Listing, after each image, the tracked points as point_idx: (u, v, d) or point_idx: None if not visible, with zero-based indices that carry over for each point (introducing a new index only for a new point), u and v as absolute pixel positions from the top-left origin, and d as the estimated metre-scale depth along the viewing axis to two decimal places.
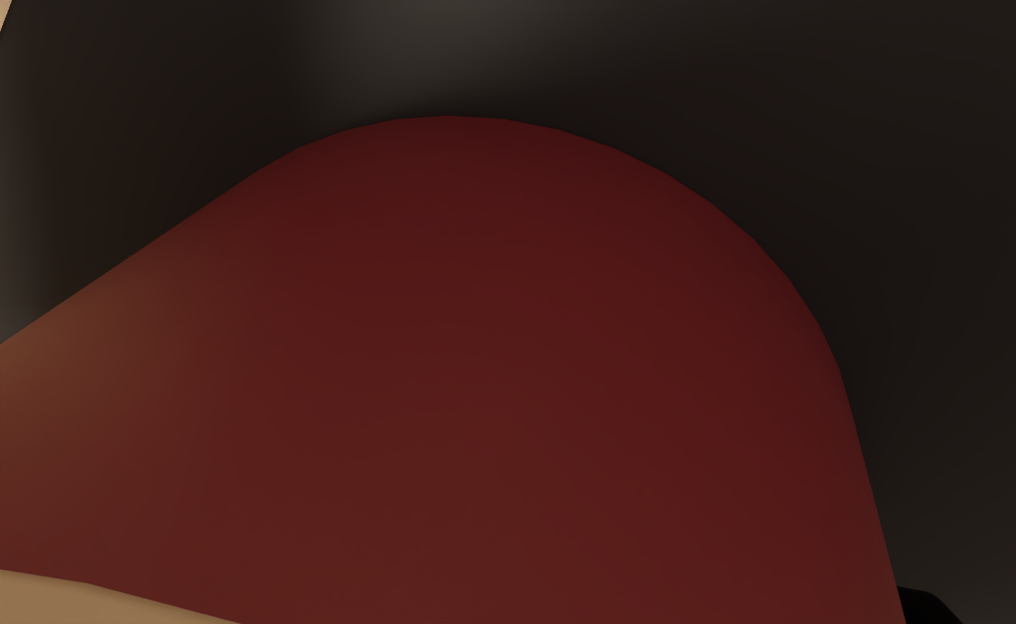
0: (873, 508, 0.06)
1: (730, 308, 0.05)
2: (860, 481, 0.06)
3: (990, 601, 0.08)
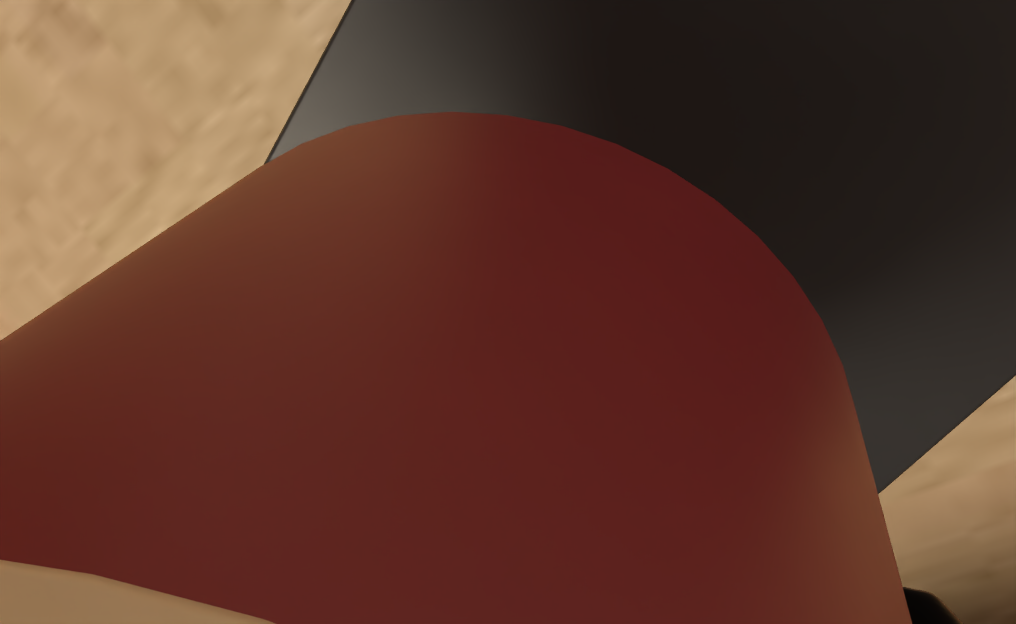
0: (878, 504, 0.06)
1: (736, 305, 0.05)
2: (865, 477, 0.05)
3: None
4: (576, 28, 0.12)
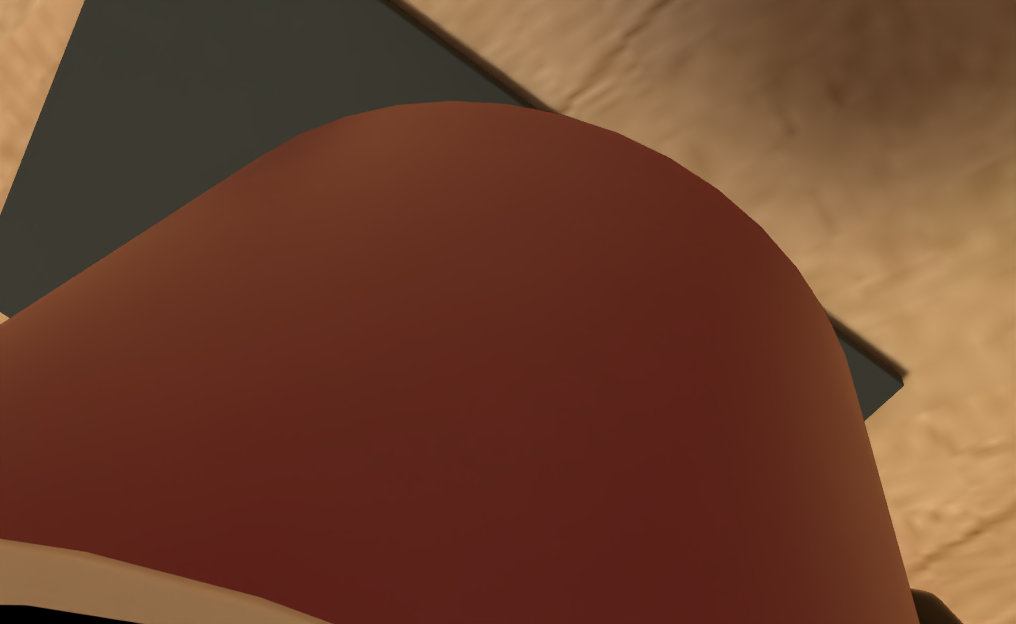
0: (882, 494, 0.06)
1: (739, 292, 0.05)
2: (869, 467, 0.05)
3: None
4: None
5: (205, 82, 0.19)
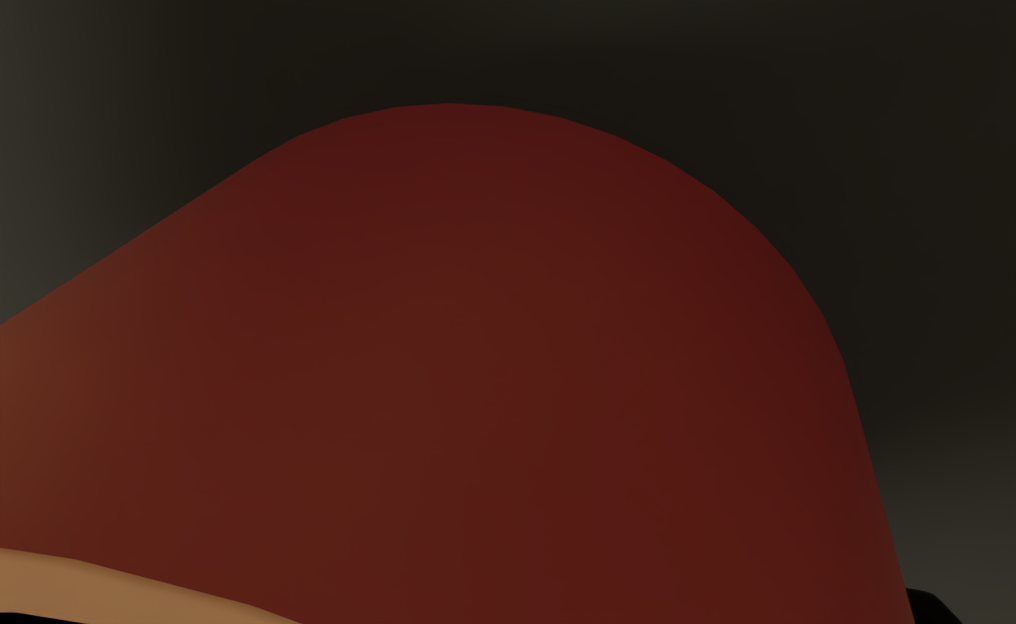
0: (879, 498, 0.06)
1: (735, 296, 0.05)
2: (866, 470, 0.05)
3: None
4: None
5: None
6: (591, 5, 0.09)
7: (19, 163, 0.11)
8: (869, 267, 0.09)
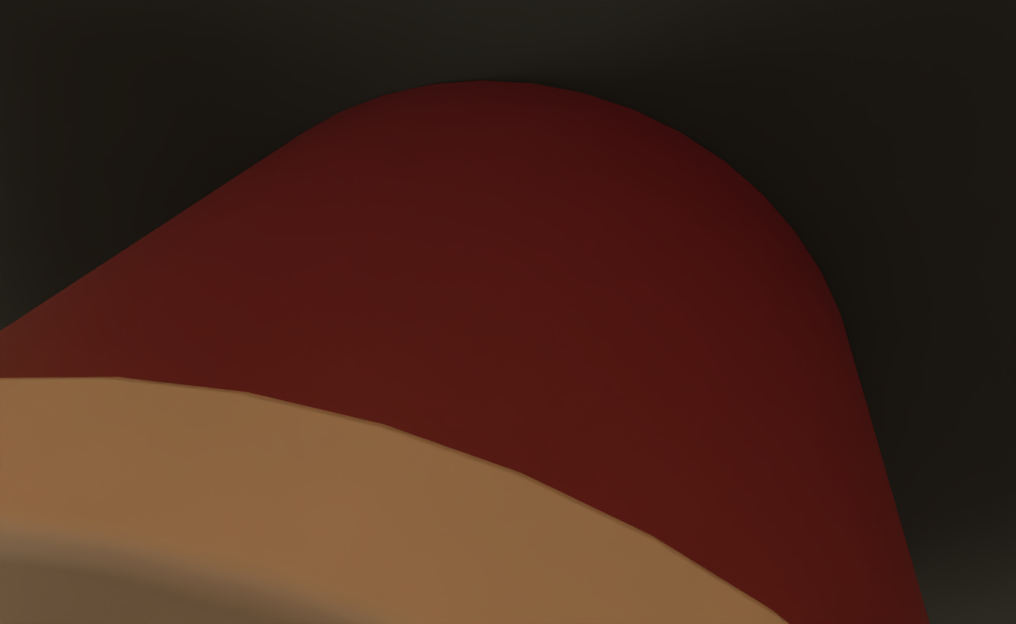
0: (872, 427, 0.06)
1: (745, 245, 0.06)
2: (861, 402, 0.06)
3: None
4: None
5: None
6: (578, 32, 0.07)
7: None
8: (912, 345, 0.08)
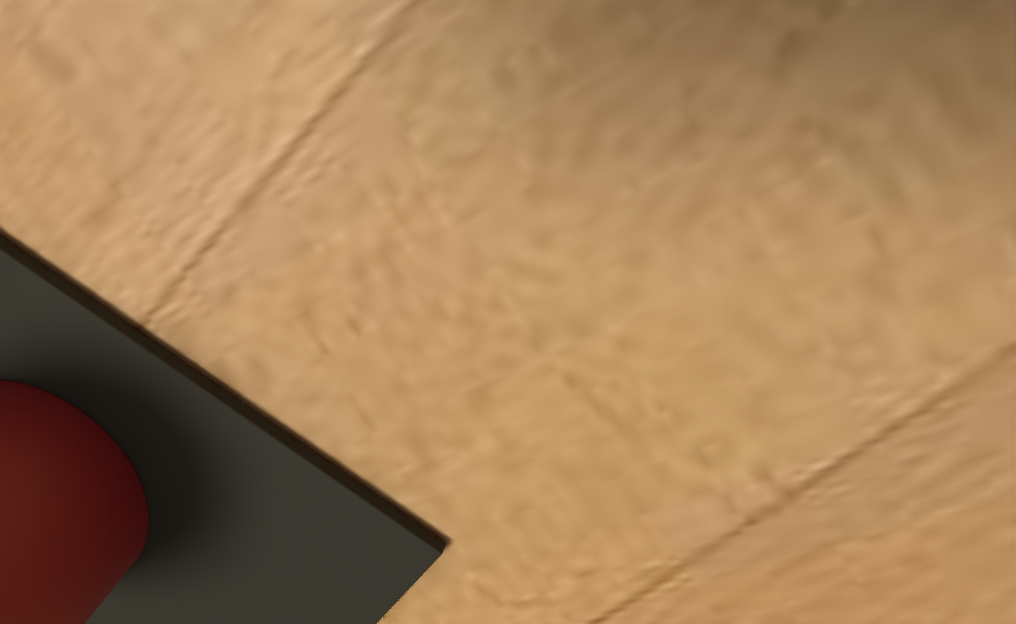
0: (82, 501, 0.21)
1: (40, 449, 0.21)
2: (75, 494, 0.21)
3: None
4: None
5: None
6: (25, 368, 0.22)
7: None
8: (152, 467, 0.23)
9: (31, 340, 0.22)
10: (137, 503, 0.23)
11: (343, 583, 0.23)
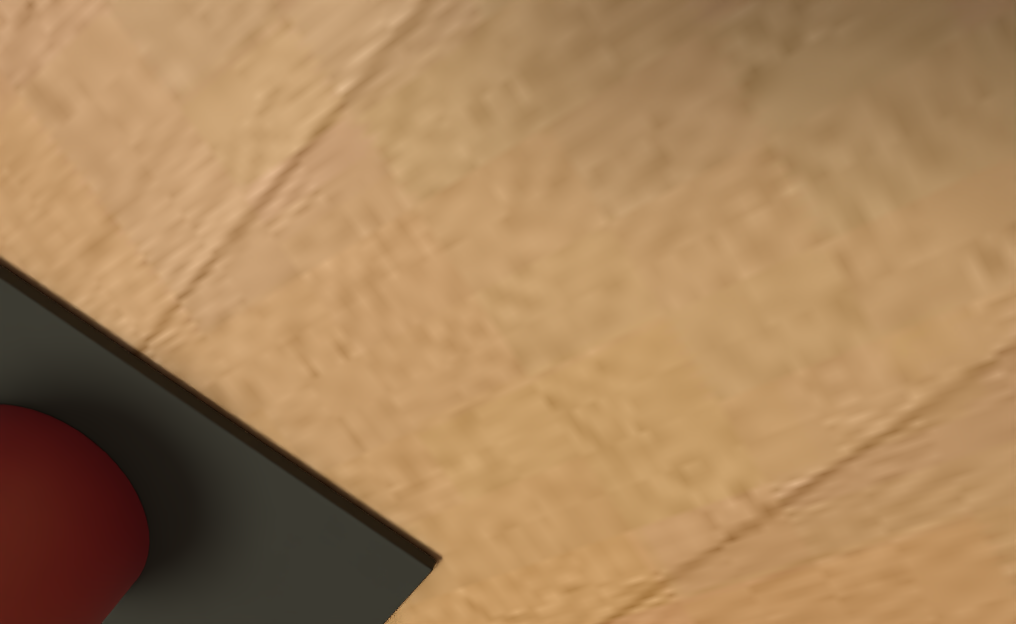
0: (83, 522, 0.22)
1: (42, 473, 0.22)
2: (76, 515, 0.22)
3: None
4: None
5: None
6: (28, 393, 0.23)
7: None
8: (152, 488, 0.24)
9: (34, 366, 0.23)
10: (137, 522, 0.24)
11: (338, 599, 0.24)
